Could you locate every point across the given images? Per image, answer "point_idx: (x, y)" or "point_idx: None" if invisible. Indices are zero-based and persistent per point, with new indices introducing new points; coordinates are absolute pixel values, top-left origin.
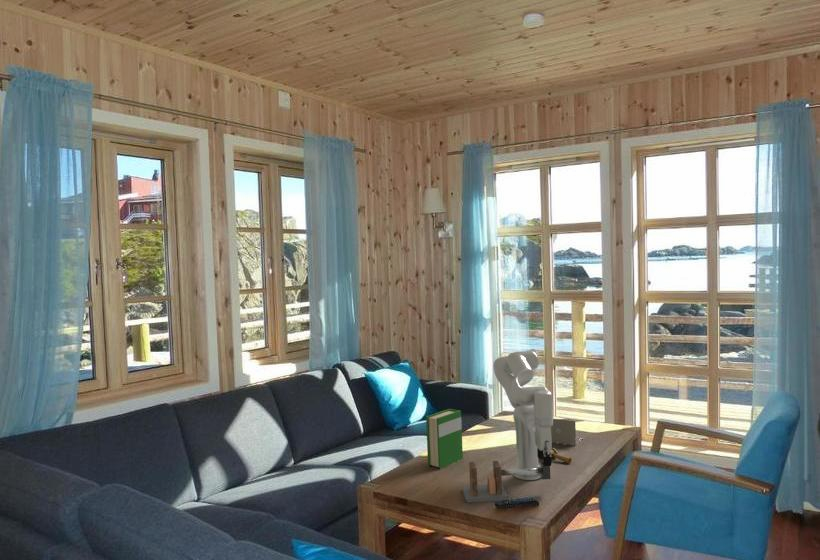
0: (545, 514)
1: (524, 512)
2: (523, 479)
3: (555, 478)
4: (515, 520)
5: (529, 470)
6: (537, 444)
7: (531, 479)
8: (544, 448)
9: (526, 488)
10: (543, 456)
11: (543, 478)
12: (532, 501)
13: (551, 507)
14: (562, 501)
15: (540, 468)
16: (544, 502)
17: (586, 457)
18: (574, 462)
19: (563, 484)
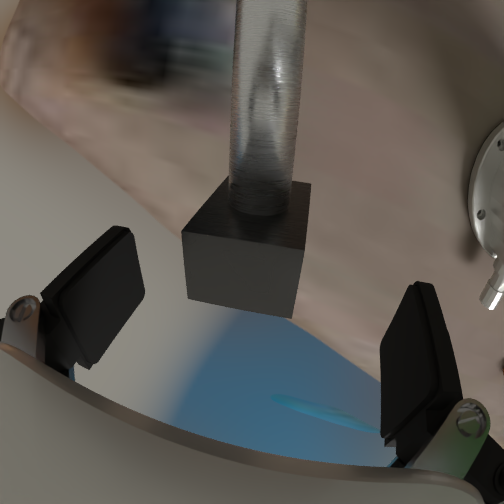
0: (46, 103)
1: (64, 24)
2: (491, 132)
3: (437, 289)
4: (26, 4)
5: (236, 65)
6: (79, 497)
7: (473, 172)
8: (386, 438)
9: (369, 81)
10: (43, 296)
11: (227, 178)
12: (160, 60)
13: (93, 137)
14: (149, 203)
15: (241, 197)
16: (142, 118)
17: (495, 405)
18: (497, 380)
19: (355, 290)
